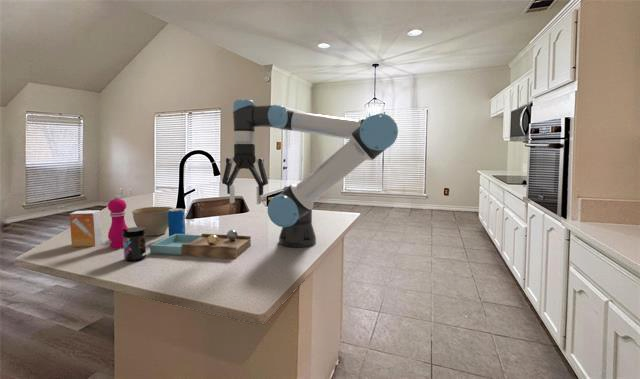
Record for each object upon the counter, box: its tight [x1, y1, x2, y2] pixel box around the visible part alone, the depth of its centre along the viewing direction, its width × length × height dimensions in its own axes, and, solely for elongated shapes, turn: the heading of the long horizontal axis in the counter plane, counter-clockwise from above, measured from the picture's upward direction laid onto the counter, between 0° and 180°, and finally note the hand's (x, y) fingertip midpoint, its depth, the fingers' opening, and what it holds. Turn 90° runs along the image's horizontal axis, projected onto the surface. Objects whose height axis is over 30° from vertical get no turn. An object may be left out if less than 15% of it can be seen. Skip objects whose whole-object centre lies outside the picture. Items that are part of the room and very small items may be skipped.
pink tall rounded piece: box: [107, 194, 129, 250], centre depth 125 cm, size 7×7×20 cm
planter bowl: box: [131, 206, 174, 237], centre depth 144 cm, size 16×16×11 cm
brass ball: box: [207, 235, 219, 246], centre depth 118 cm, size 4×4×4 cm
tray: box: [149, 233, 202, 257], centre depth 125 cm, size 12×16×3 cm
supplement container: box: [122, 226, 147, 263], centre depth 112 cm, size 7×7×10 cm
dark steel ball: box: [226, 229, 239, 240], centre depth 125 cm, size 4×4×4 cm
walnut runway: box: [182, 233, 252, 260], centre depth 122 cm, size 20×15×4 cm
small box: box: [69, 209, 103, 248], centre depth 127 cm, size 8×6×13 cm
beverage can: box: [168, 207, 186, 237], centre depth 139 cm, size 6×6×12 cm
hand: (245, 203), depth 123 cm, fingers open, 10 cm apart
